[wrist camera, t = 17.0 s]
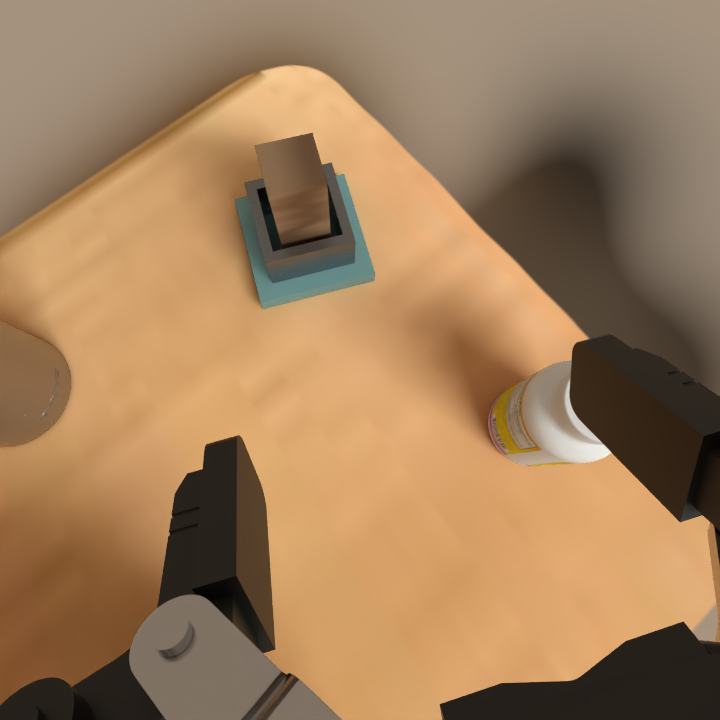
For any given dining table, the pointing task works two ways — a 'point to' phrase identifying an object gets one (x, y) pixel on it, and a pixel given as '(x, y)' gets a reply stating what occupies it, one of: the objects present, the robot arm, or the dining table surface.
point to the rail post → (296, 189)
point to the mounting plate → (313, 282)
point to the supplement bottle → (542, 422)
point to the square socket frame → (309, 254)
